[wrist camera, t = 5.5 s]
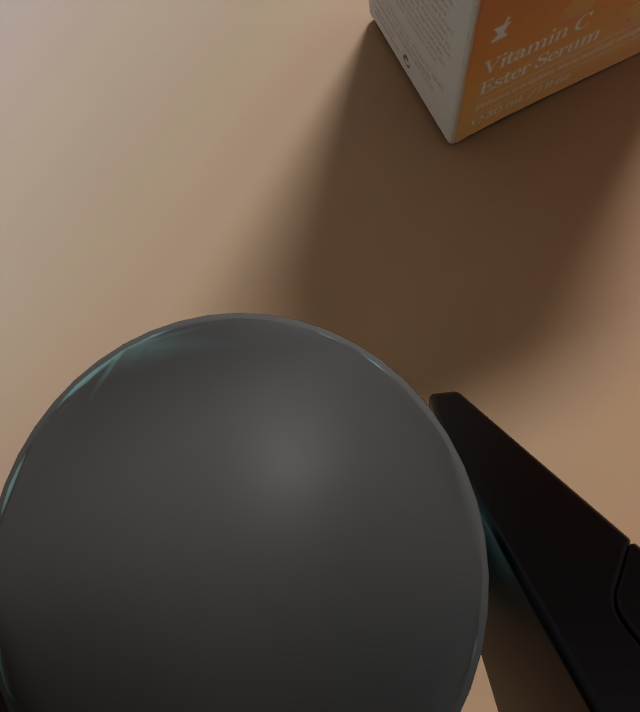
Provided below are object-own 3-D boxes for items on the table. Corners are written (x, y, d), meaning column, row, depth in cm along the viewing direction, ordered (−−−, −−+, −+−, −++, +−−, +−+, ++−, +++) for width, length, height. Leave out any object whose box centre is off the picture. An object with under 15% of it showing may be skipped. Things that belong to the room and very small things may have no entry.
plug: (445, 574, 14) (567, 805, 4) (274, 613, 14) (9, 914, 4) (397, 401, 15) (404, 259, 5) (239, 441, 15) (-34, 378, 5)
